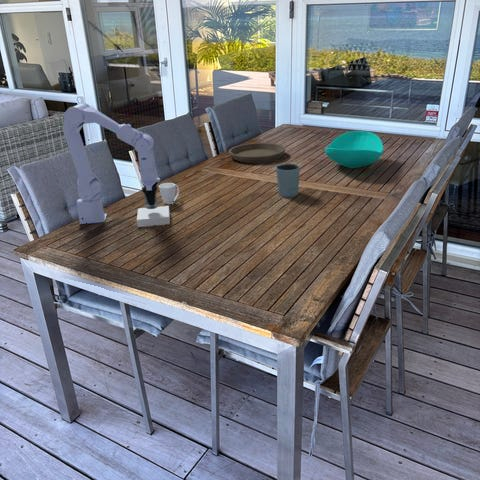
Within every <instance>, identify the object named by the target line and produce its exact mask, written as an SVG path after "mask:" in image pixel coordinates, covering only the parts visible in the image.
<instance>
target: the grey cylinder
mask: <svg viewBox="0 0 480 480" xmlns="http://www.w3.org/2000/svg"><path fill="white" fill-rule="evenodd" d="M143 195H144V202H145V208H147V209H155V208H157V207H159V205H158V197H157V195H158V194H157V193H156V194H155V205H149V204H148V201H147V198H146V196H145V194H144V193H143Z"/></svg>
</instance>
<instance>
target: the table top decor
mask: <svg viewBox="0 0 480 480" xmlns="http://www.w3.org/2000/svg"><path fill="white" fill-rule="evenodd" d="M383 143H384V142H383V141H382V140H381V138H380V137H379V135H377V134H376V133H374V132H370V131H365V130H363V131H362V130H355V131H353V130H352V131H347V132H345V133H342V134H340V135H339V136H337V137H336V138H334V139H333V141H331V142H330V144H329V145H328V146H326V148H325V149H324V152H325V154H326V156H327V157H328V159H330V160H331V161H333V162H334V163H336V164H338V165H341V166H343V167H346V168H349V169H359V168H361V167H362V168H363V167H366V166H369V165H371V164H373V163H374V162H376V161H377V160H379V159H380V157H381V156H382V155H383V153H384V144H383Z"/></svg>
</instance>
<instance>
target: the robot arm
mask: <svg viewBox="0 0 480 480" xmlns="http://www.w3.org/2000/svg"><path fill="white" fill-rule="evenodd" d="M62 117H63V118H64V119H63V124H62V133H63V135H64V139H65V141H66V143H67V147H68V149H69V153H70V156H71V159H72V161H73V165H74V167H75V171H76V173H77V181H76V185H77V195H78V197H79V198H78V199H77V200H76V210H77V214H78V220H79V224H80V225H83V224H84V225H86V223H87V224H99V223H105V221H106V219H107V213H105V212H104V205H103V199H102V194H101V192H102V190H103V184H102V182H101V180H100V179H99V178H98V176H97V174H96V173H95V172H94V171H93V170H92V166H91V163H90V161H89V157H88V155H87V151H86V148H85V145H84V142H83V139H82V136H81V134H80V131H81V129H82V128H83V126H84V124H87V125H88V124H97V125H98V126H101V127H102V128H105V129H107V130H109V131H111V132H113V133H115V135H116V137H117V139H118V140H120V141H123V142H124V143H126V144H127V145H130V146H131V147H133V148H134V149H135V151H136V152H137V158H138V165H139V166H138V167H139V172H140V183H141V184H142V186H143V187H141V192H143V195H144V194H145V196H146V198H147V201H148V204H149V205H155V194H156V195H157V190H158V187H157V185H158V182H160V181H161V178H160V177H158V176H157V171H156V162H155V155H154V148H153V147H154V145H155V141H154V138H153V137H152V136H151V135H150V134H149V133H144V132H143V131H138V130H137V129H135V128H133V127H132V125H131V124H130V123H127V124H126V123H122V124H119V122H117V121H115V120H113V119H112V118H110V117H109V116H107V115H105V114H104V113H102V112H101V111H99V110H98V109H97V108H95V107H94V106H92V105H89V104H88V103H85V102H81V103H77V104H76V105H74V106H70V107H68V108H67V109H66V110H65V112H64V114H63V116H62ZM145 196H144V197H145Z"/></svg>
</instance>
